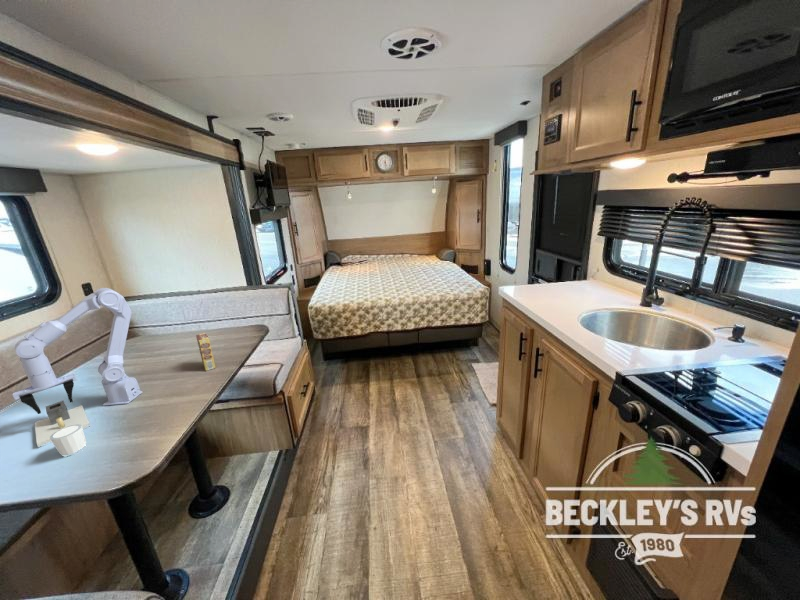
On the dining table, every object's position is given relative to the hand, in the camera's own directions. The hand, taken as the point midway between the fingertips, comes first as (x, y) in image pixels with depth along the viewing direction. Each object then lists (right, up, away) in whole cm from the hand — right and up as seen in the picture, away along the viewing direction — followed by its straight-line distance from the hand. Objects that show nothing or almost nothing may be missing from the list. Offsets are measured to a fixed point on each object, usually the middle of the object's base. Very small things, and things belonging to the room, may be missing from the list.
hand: (55, 406), depth 108 cm
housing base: (+3, -7, -1) cm, 7 cm away
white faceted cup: (+20, -9, -13) cm, 25 cm away
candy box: (+31, +6, +37) cm, 49 cm away
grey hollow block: (0, -5, +1) cm, 5 cm away
